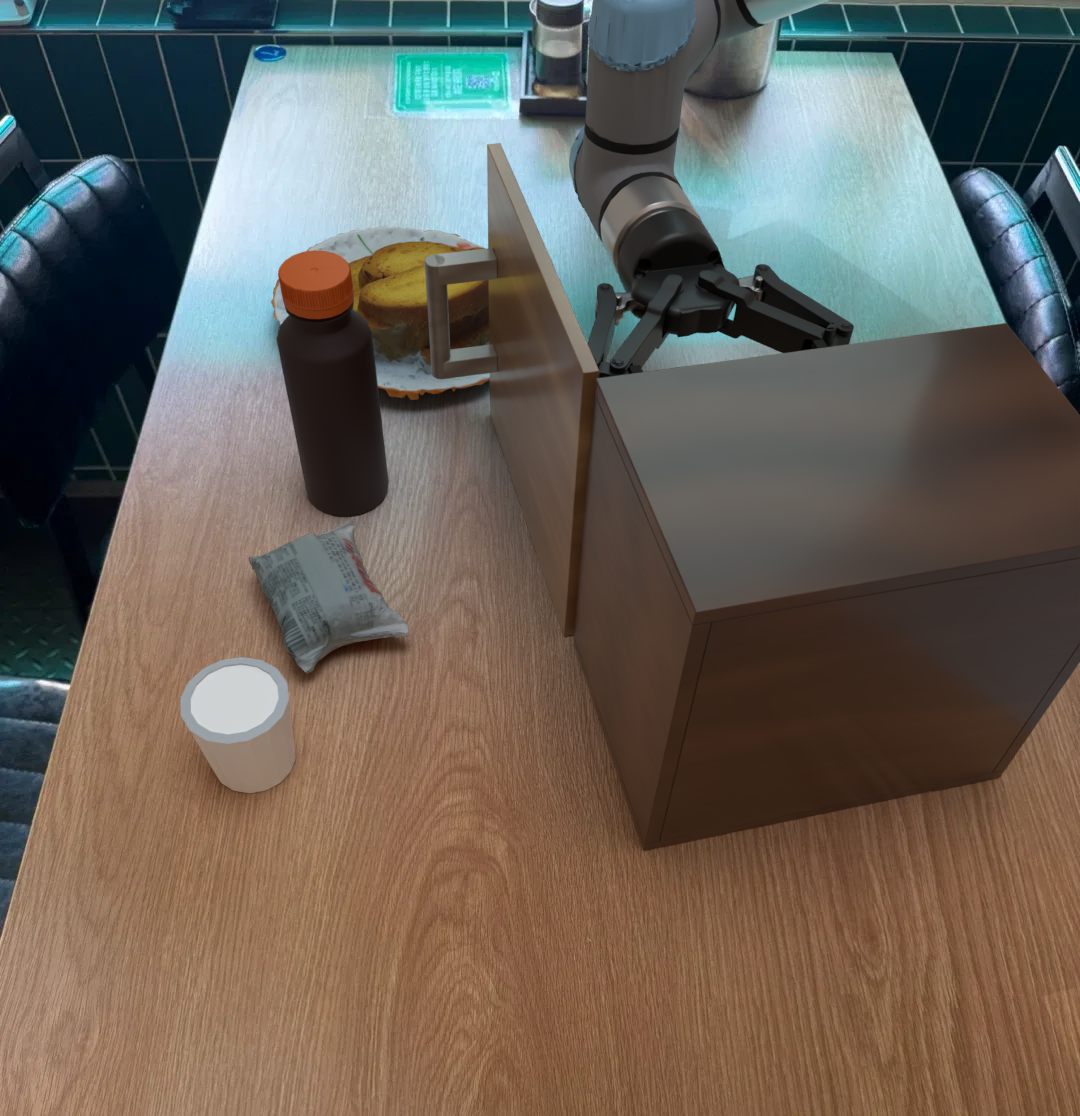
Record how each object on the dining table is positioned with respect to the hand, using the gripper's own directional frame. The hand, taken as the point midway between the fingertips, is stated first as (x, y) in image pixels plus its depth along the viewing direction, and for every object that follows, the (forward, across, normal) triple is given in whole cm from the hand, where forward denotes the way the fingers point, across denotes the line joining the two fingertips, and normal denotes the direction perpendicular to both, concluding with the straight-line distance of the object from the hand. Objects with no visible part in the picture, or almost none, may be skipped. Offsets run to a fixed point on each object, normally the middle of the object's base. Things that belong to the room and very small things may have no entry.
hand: (756, 428), depth 74 cm
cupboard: (+13, 0, -15) cm, 20 cm away
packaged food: (-3, +30, -15) cm, 34 cm away
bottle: (-16, +27, -15) cm, 35 cm away
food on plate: (-37, +18, -15) cm, 44 cm away
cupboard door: (-10, +16, -15) cm, 24 cm away
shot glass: (+9, +37, -15) cm, 41 cm away
